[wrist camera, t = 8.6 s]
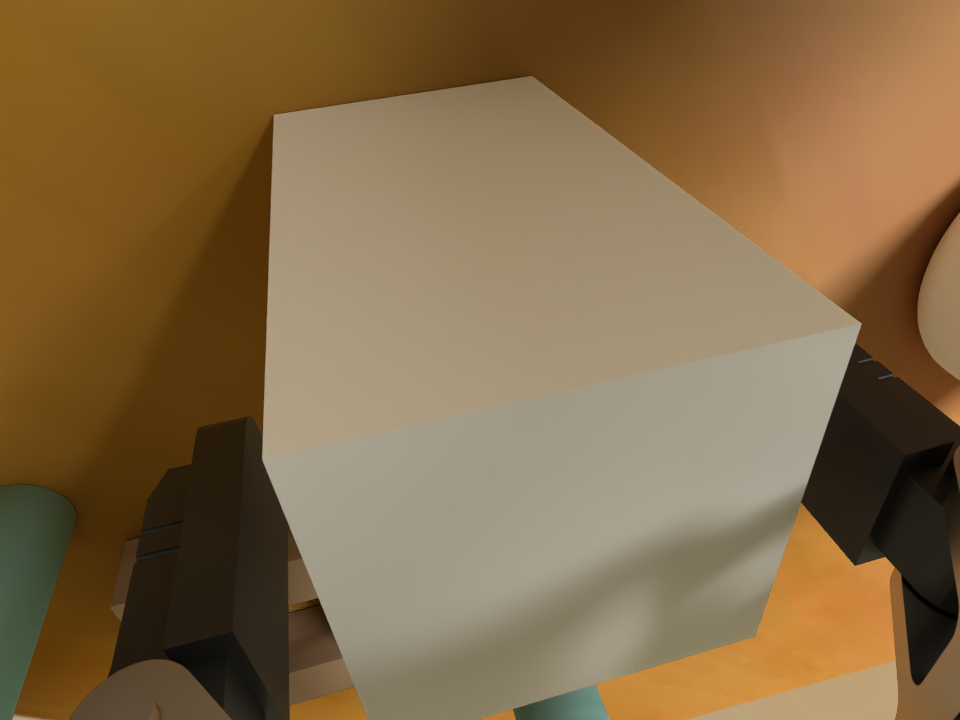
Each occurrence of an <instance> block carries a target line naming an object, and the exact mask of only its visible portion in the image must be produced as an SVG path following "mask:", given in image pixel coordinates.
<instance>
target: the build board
mask: <svg viewBox="0 0 960 720" xmlns="http://www.w3.org/2000/svg"><path fill="white" fill-rule="evenodd" d="M138 543H139V538H137V539H133V540H129V541H125V544H124V548H123V553H122V557H121V561H120V565H119V569H118V573H117V578H116V582H115V586H114V590H113V594H112V599H111V603H110V607H109V608H110V609H111V610H112V611H113V613H114V614H115V615H116V617H117V618H118V619H119V620H120V622H121V621H122V616H123V611H124V607H125V602H126V598H127V593H128V589H129V584H130V579H131V575H132V570H133V566H134V563H136V562H137V559H136V552H137V547H138ZM316 598H318V595H317V593H316V590H315V588H314V586H313V583H312V581H311V578H310V576H309V573H308V571H307V568H306V566H305V564H304V561H303V559H302V556H301V554H300V551H299V549H298V546H297V544H296V541H295V539H294V537H293V534H292V532H291V529H290V527H289V524H288V606H290V605H294V604H297V603H301V602H305V601H309V600H312V599H316ZM352 687H355V686H354V684H353V681H352V679H351V676H350V674H349V671H348V669H347V666H346V664H345V662H344V659H343V657H342V654H341V652H340V649H339V647H338V644H337V642H336V640H335V637H334V635H333V632H332V630H331V627H330V625H329V622H328V620H327V617H326V615H325V613H324V610H323V608H322V605H318V606H314V607H310V608H306V609H303V610H299V611H295V612H291V613H289V705H293V704H296V703H300V702H303V701H307V700H310V699H314V698H317V697H321V696H324V695H328V694H331V693H335V692H338V691H342V690H345V689H349V688H352Z"/></svg>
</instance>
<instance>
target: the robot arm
mask: <svg viewBox="0 0 960 720" xmlns="http://www.w3.org/2000/svg"><path fill="white" fill-rule="evenodd" d="M262 450H263V439H262V437H261V435H260V432H259V430H258V427H257V425H256V423H255V421H254V419H253V418H252V417H251V416H248V417H243V418H239V419H234V420H230V421H225V422H221V423H216V424H212V425H207V426H203V427H200V428H199V429H198V431H197V434H196V440H195V446H194V453H193V459H192V464H190V465H185V466H181V467H177V468H172V469H169V470H168V471H167V472H166V474H165V475H164V477H163V478H162V480H161V481H160V483H159V484H158V486H157V487H156V488H155V490H154V491H153V493H152V494H151V496H150V497H149V499H148V502H147V506H146V511H145V515H144V520H143V524H142V529H141V531H142V536H141V537H140V538H139V543H138V547H137V552H136V559H137V562H136V563H134V566H133V570H132V575H131V579H130V584H129V589H128V593H127V598H126V602H125V607H124V611H123V616H122V621H121V625H120V630H119V634H118V639H117V643H116V648H115V653H114V657H113V662H112V666H111V669H110V672H109V675H108V677H107V679H106V680H104V681H103V682H102V683H100V684H99V685H98V686H97V687H96V688H95V689H93V690H92V691H91V692H90V693H89V694H88V695H87V696H86V697H85V699H84V700H83V701H82V702H81V703H80V704H79V706H78V707H77V708H76V710H75V711H74V713H73V714H72V715H71V717H70V719H69V720H290V718H289V613H288V522H287V519H286V517H285V515H284V512H283V510H282V507H281V505H280V502H279V500H278V497H277V495H276V492H275V490H274V488H273V485H272V483H271V480H270V478H269V475H268V473H267V470H266V468H265V465H264V463H263V461H262ZM801 503H802V504H803V505H804V506H805V507H806V508H807V510H808V511H809V512H810V513H811V514H812V516H813V517H814V518H815V519H816V520H817V521H818V523H819V524H820V525H821V526H822V527H823V529H824V530H825V531H826V532H827V533H828V534H829V536H830V537H831V538H832V539H833V540H834V542H835V543H836V544H837V545H838V546H839V547H840V549H841V550H842V551H843V552H844V553H845V555H846V556H847V557H848V558H849V559H850V560H851V562H852V563H853V564H854V565H855V566H856V565H859V564H863V563H866V562H870V561H873V560H876V559H880V558H883V557H886V558H887V559H888V560H889V561H890V562H891V563H892V564H893V566H894V567H895V568H894V570H893V572H892V574H891V578H890V594H891V606H892V618H893V631H894V643H895V655H896V666H897V667H896V668H897V680H898V708H897V714H896V718H895V720H960V426H959V425H958V424H956V423H955V422H954V421H952V420H951V419H950V418H949V417H947V416H946V415H945V414H944V413H942V412H941V411H940V410H939V409H937V408H936V407H935V406H934V405H932V404H931V403H930V402H929V401H927V400H926V399H925V398H924V397H922V396H921V395H920V394H918V393H917V392H916V391H915V390H913V389H912V388H911V387H910V386H908V385H907V384H906V383H905V382H903V381H902V380H901V379H900V378H898V377H896V378H894V377H893V375H892V372H891V371H890V370H888V369H887V368H886V367H884V366H883V365H882V364H881V363H879V362H878V361H875V362H874V361H873V359H872V356H871V355H869V354H868V353H867V352H866V351H864V350H863V349H862V348H861V347H859V346H858V345H857V344H856V343H855V345H854V348H853V351H852V354H851V357H850V360H849V363H848V366H847V369H846V371H845V374H844V377H843V380H842V383H841V386H840V389H839V392H838V395H837V398H836V401H835V404H834V407H833V410H832V413H831V415H830V418H829V421H828V424H827V427H826V430H825V433H824V436H823V439H822V442H821V445H820V448H819V451H818V454H817V457H816V459H815V462H814V465H813V468H812V471H811V474H810V477H809V480H808V483H807V486H806V489H805V492H804V495H803V498H802V501H801Z"/></svg>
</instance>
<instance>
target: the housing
mask: <svg viewBox="0 0 960 720" xmlns="http://www.w3.org/2000/svg"><path fill="white" fill-rule="evenodd" d="M861 325H862V323H860V322H859V321H858V320H856V319H855V318H854V317H852V316H851V315H850V314H848V313H847V312H846V311H844V310H843V309H842V308H840V307H839V306H838V305H836V304H835V303H834V302H832V301H831V300H830V299H828V298H827V297H826V296H824V295H823V294H822V293H820V292H819V291H818V290H816V289H815V288H814V287H812V286H811V285H810V284H808V283H807V282H806V281H804V280H803V279H802V278H800V277H799V276H798V275H796V274H795V273H794V272H792V271H791V270H790V269H788V268H787V267H786V266H784V265H783V264H782V263H780V262H779V261H778V260H776V259H775V258H774V257H772V256H771V255H770V254H768V253H767V252H766V251H764V250H763V249H762V248H760V247H759V246H758V245H756V244H755V243H754V242H752V241H751V240H750V239H748V238H747V237H746V236H744V235H743V234H742V233H740V232H739V231H738V230H736V229H735V228H734V227H732V226H731V225H730V224H729V223H727V222H726V221H725V220H723V219H722V218H721V217H719V216H718V215H717V214H715V213H714V212H713V211H711V210H710V209H709V208H707V207H706V206H705V205H703V204H702V203H701V202H699V201H698V200H697V199H695V198H694V197H693V196H691V195H690V194H689V193H687V192H686V191H685V190H683V189H682V188H681V187H679V186H678V185H677V184H675V183H674V182H673V181H671V180H670V179H669V178H667V177H666V176H665V175H663V174H662V173H661V172H659V171H658V170H657V169H655V168H654V167H653V166H651V165H650V164H649V163H647V162H646V161H645V160H643V159H642V158H641V157H639V156H638V155H637V154H635V153H634V152H633V151H631V150H630V149H629V148H627V147H626V146H625V145H623V144H622V143H621V142H619V141H618V140H617V139H615V138H614V137H613V136H611V135H610V134H609V133H607V132H606V131H605V130H603V129H602V128H601V127H599V126H598V125H597V124H595V123H594V122H593V121H591V120H590V119H589V118H587V117H586V116H585V115H583V114H582V113H581V112H579V111H578V110H577V109H575V108H574V107H573V106H571V105H570V104H569V103H567V102H566V101H565V100H563V99H562V98H561V97H559V96H558V95H557V94H555V93H554V92H553V91H551V90H550V89H549V88H547V87H546V86H545V85H543V84H542V83H541V82H539V81H538V80H537V79H535V78H534V77H533V76H528V77H522V78H515V79H508V80H502V81H495V82H488V83H482V84H475V85H468V86H462V87H455V88H448V89H442V90H435V91H429V92H422V93H415V94H409V95H402V96H395V97H389V98H382V99H375V100H369V101H362V102H355V103H349V104H342V105H335V106H329V107H322V108H315V109H309V110H302V111H295V112H289V113H282V114H275V115H274V125H273V155H272V184H271V214H270V243H269V273H268V302H267V332H266V361H265V391H264V420H263V450H262V461H263V463H264V465H265V468H266V470H267V473H268V475H269V478H270V480H271V483H272V485H273V488H274V490H275V492H276V495H277V497H278V500H279V502H280V505H281V507H282V510H283V512H284V515H285V517H286V519H287V522H288V524H289V527H290V529H291V532H292V534H293V537H294V539H295V541H296V544H297V546H298V549H299V551H300V554H301V556H302V559H303V561H304V564H305V566H306V568H307V571H308V573H309V576H310V578H311V581H312V583H313V586H314V588H315V590H316V593H317V595H318V598H319V600H320V603H321V605H322V608H323V610H324V613H325V615H326V617H327V620H328V622H329V625H330V627H331V630H332V632H333V635H334V637H335V640H336V642H337V644H338V647H339V649H340V652H341V654H342V657H343V659H344V662H345V664H346V666H347V669H348V671H349V674H350V676H351V679H352V681H353V684H354V686H355V689H356V691H357V693H358V696H359V698H360V701H361V703H362V706H363V708H364V711H365V713H366V716H367V718H368V720H478V719H481V718H485V717H488V716H491V715H495V714H498V713H501V712H505V711H508V710H511V709H515V708H518V707H521V706H525V705H528V704H531V703H535V702H538V701H541V700H545V699H548V698H551V697H555V696H558V695H561V694H565V693H568V692H571V691H575V690H578V689H581V688H585V687H588V686H592V685H595V684H598V683H602V682H605V681H608V680H612V679H615V678H618V677H622V676H625V675H628V674H632V673H635V672H638V671H642V670H645V669H648V668H652V667H655V666H658V665H662V664H665V663H668V662H672V661H675V660H678V659H682V658H685V657H688V656H692V655H695V654H698V653H702V652H705V651H708V650H712V649H715V648H718V647H722V646H725V645H728V644H732V643H735V642H738V641H742V640H745V639H749V638H752V637H755V635H756V633H757V630H758V627H759V624H760V621H761V618H762V615H763V612H764V609H765V606H766V603H767V600H768V597H769V594H770V591H771V589H772V586H773V583H774V580H775V577H776V574H777V571H778V568H779V565H780V562H781V559H782V556H783V553H784V550H785V547H786V545H787V542H788V539H789V536H790V533H791V530H792V527H793V524H794V521H795V518H796V515H797V512H798V509H799V506H800V503H801V501H802V498H803V495H804V492H805V489H806V486H807V483H808V480H809V477H810V474H811V471H812V468H813V465H814V462H815V459H816V457H817V454H818V451H819V448H820V445H821V442H822V439H823V436H824V433H825V430H826V427H827V424H828V421H829V418H830V415H831V413H832V410H833V407H834V404H835V401H836V398H837V395H838V392H839V389H840V386H841V383H842V380H843V377H844V374H845V371H846V369H847V366H848V363H849V360H850V357H851V354H852V351H853V348H854V345H855V342H856V339H857V336H858V333H859V330H860V327H861Z"/></svg>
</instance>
